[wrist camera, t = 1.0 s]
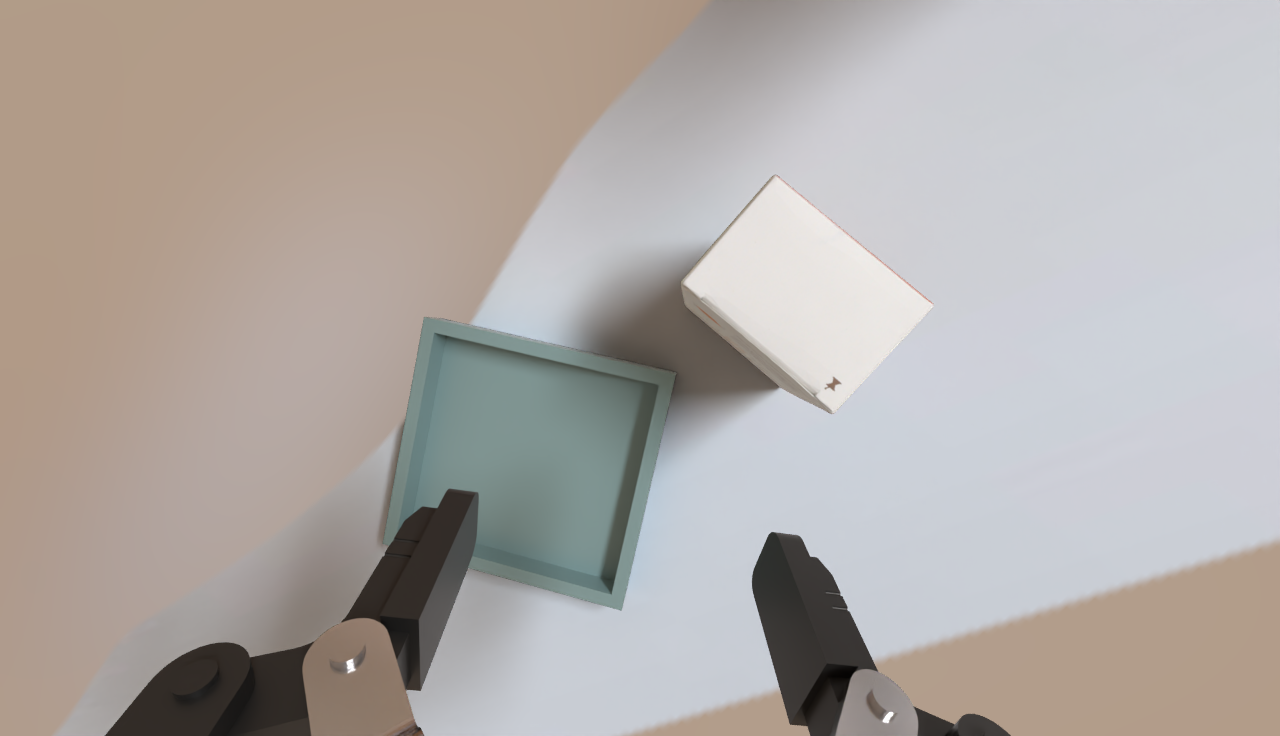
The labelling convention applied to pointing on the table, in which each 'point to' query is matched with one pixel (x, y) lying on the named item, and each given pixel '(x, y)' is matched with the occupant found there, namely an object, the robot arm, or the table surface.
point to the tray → (534, 454)
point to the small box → (801, 297)
